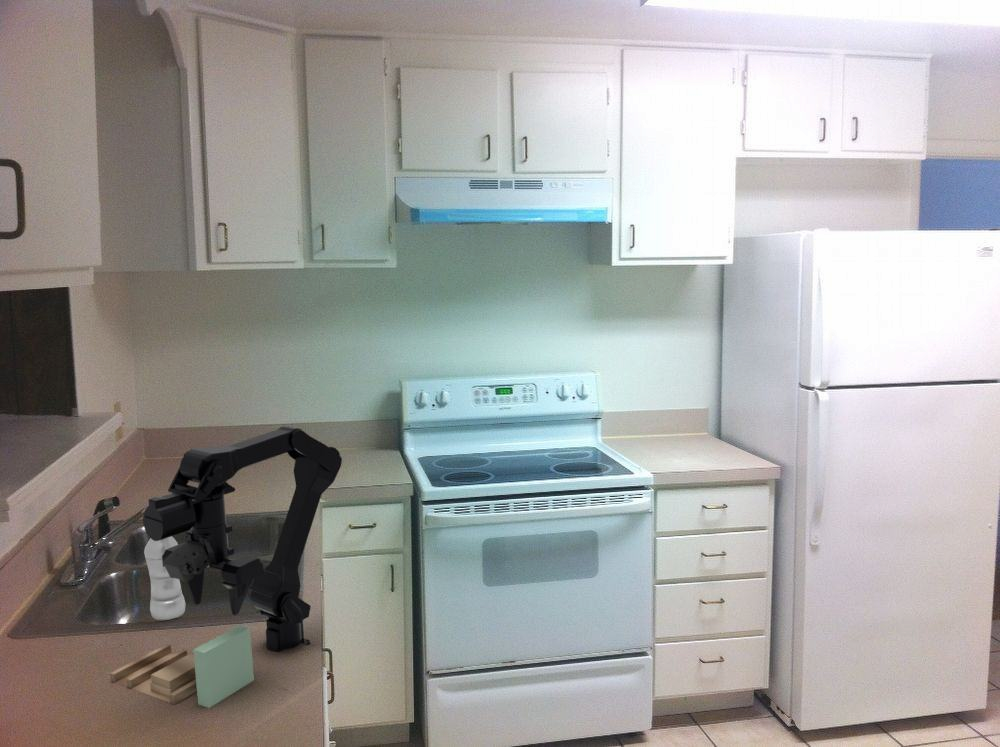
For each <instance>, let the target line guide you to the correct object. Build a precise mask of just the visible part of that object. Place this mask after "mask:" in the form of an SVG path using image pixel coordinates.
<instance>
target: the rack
mask: <svg viewBox="0 0 1000 747" xmlns="http://www.w3.org/2000/svg"><path fill="white" fill-rule="evenodd" d="M187 655H188V650H187V649H185V648H183V649H181V650H179V651H177V652H175V653H173V652H172V645H171V644H168V643H166V644H164V645H162V646H160V647H159V648H156V649H154V650H152V651H150V652H148V653H147V654H144V655H143V656H140V657H139V658H137V659H135V660H133V661H131V662H129V663H126V664H125V665H123V666H121V667H119V668H117V669H115V670H113V671H112V672H110V675H109V676H110V681H111V682H112V683H115V684H118V685H120V686H124V687H126V688H128V689H131V690H133V691H137V692H140V693H142V694H146V695H148V696H150V697H153V698H156V699H158V700H161V701H164V702H167V703H168V704H172V705H177V704H178V703H180V702H182V701H183V700H185V699H186V698H189V697H190V696H191V695H193V694H194V693H197V685H196V679H195V680H194V681H192V682H190V683H188V684H187V685H185V686H183V687H181V688H180V689H178V690H176V691H174V692H173V693H171V694H169V695H170V698H169V697H166V696H163V695H160V694H158V693H155V692H152V691H151V687H150V683H151V682H152V680H151V674H153V673H155V672H157V671H159V670H161V669H163V668H164V667H166V666H168V665H170V664H172V663H174V662H176V661H177V660H179V659H181V658H183V657H185V656H187Z"/></svg>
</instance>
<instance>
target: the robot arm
mask: <svg viewBox="0 0 1000 747" xmlns="http://www.w3.org/2000/svg"><path fill="white" fill-rule="evenodd" d="M283 454H286V456H288V457H289V458H290V459H292V460H294V466H293V476H294V482H295V490H294V492H293V496H292V498H291V501H290V505H289V508H288V510H287V513H286V517H285V520H284V522H283V527H282V528H281V532H280V534H279V535H280V536H279V538H278V541H277V544H276V547H275V551H274V553H273V556H272V560H271V562H270V563H269V564H267V566H266V567H265V568H264V560H262V559H261V558H259V557H255V556H251V555H247V554H242V555H241V556H238V557H236V558H234V559H229V557H230V556H232V555H234V554H235V548H234V547H232V546H231V547H230V546H229V539H228V537H229V536H228V534H229V533H231V532H233V525H232V524H227V516H226V514H227V512H226V503H225V502H226V501H225V495H228V494H232V493H234V492H235V491H236V487H235V486H232V485H231V484H229V483H228V481H230V480H231V479H233V477H234V476H235V475H236V474H237V473H238V472H239V471H241V470H243V469H244V468H247V467H250V466H252V465H256V464H259V463H261V462H263V461H267V460H269V459H272V458H275V457H278V456H281V455H283ZM342 462H343V457H342V456H341V454H340V451H339V450H338V449H337V448H336V447H333V446H329V445H326V444H325V443H323V442H321V441H319V440H317V439H316V438H314V437H312V436H311V435H309V434H308V433H306V432H305V430H304V431H303V430H302V429H301V428H298V427H293V426H289V425H288V426H287V425H284V426H280V427H279V428H277V429H275V430H272V431H268V432H265V433H263V434H260V435H258V436H255V437H251V438H248V439H245V440H242V441H239V442H237V443H233V444H230V445H225V446H207V447H206V446H205V447H196V448H191V449H189V450H187V451H186V452H185V453H184V454H183V456H182V459H181V461H180V465H179V467H178V469H177V470H176V473H175V475H174V477H173V479H172V481H171V483H170V485H169V487H168V490H167V491H168V493H169V494H166V495H163V496H155V497H151V498H148V500H147V501H148V506H147V507H146V508H145V510H144V511H143V512H144V513H143V517H142V525H143V528H144V531H145V532H146V534H147V536H148V537H149V538H151V539H152V540H154V541H159V540H162V539H165V538H168V537H171V536H172V537H173V536H177V535H180V534H183V533H186V534H185V535H184V539H185V541H184V542H182V543H179V544H178V545H176V546H174V547H171V548H169V549H166V550H165V552H164V554H163V556H162V562H163V567H165V568H166V570H167V572H168V574H169V576H170V578H176V579H179V580H180V581H182V583H183V584H184V586H185V588H186V590H187V592H188V594H189V597H190V599H191V601H192V603H193V605H195V606H197V605H200V604H201V602H202V596H203V590H204V589H203V587H204V578H205V577H204V576H205V569H206V568H212V569H215V570H220V573H221V578H222V579H223V582H222V581H221V585H222V586H224V587H225V588H226V589H227V590H228V597H229V604H230V610H231V614H232V616H236V615H238V614H239V613H240V610H241V609H242V606H243V604H244V601H245V598H246V596H247V593H248V590H250V596H249V597H250V598H249V599H250V601H251V604H252V606H253V607H254V608H255V609H257V610H258V613H259V614H260V615H262V616H265V617H268V619H266V621H265V622H266V629H265V639H266V650H269V651H271V652H275V653H280V652H282V651H284V650H290V649H293V648H296V647H298V646H299V645H300V644H303V645H305V646H308V645H310V644H311V640H310V639H308V638H305V635H304V634H305V633H304V620H305V619H307V618H309V616H310V613H311V612H310V611H311V605H310V604H309V603H307V602H306V601H304V600H303V599H301V598H299V596H300V592H301V591H300V589H301V581H300V575H299V566H300V562H301V559H302V556H303V554H304V551H305V547H306V545H307V541H308V538H309V535H310V531H311V528H312V527H313V526H312V525H313V522H314V518H315V516H316V513H317V510H318V507H319V503H320V500H321V498H322V495H323V493H325V491H326V490H327V489H328V488H329V487H331V485H333V483H334V482H335V480H336V479H337V476H338V473H339V471H340V470H341V467H342ZM189 483H192V484H196V485H198V486H197V487H196V486H193V485H189Z"/></svg>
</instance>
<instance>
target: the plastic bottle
mask: <svg viewBox="0 0 1000 747" xmlns="http://www.w3.org/2000/svg"><path fill="white" fill-rule="evenodd" d="M149 538H150V537H149ZM176 545H179V544H178V541H176V539H175V537H173V536H171V537H168V538H165V539H162V540H159V541H154V540H152V539H151V538H150V539H149V540H148V541H147V543H146V545H145V547H144V552H143V553H144V557H145V558H144V559H145V561H146V562H145V563H146V566H147V570H148V575H149V578H150V579H149V580H150V602H149V604H150V605H149V610H150V611H149V612H150V614H151V617H152V619H154V620H156V621H171V620H174V619H177V618H180V617H181V616H183V615H184V613H185V612H186V601H185V596H184V595H183V592H182V586H181V585H182V584H181V580H180V579H176V578H170V576H169V574H168V572H167V570H166V568H165V567H163V562H162V556H163V554H164V552H165V550H166V549H169V548H171V547H174V546H176Z"/></svg>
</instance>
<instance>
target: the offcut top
mask: <svg viewBox="0 0 1000 747" xmlns="http://www.w3.org/2000/svg"><path fill="white" fill-rule="evenodd" d="M195 675H196V674H195V663H194V652H193V651H192V652H191V653H188V654H187V656H185V657H183V658H181V659H179V660H177V661H176V662H174V663H172V664H170V665H168V666H166V667H164V668H163V669H161V670H159V671H157V672H155V673H153V674H151V680H152V683H153V684H156V685H159V686H162V687H164V688H167V689H170V690H171V689H172V688H174V687H176V686H178V685H179V684H181V683H183V682H185V681H186V680H188V679H190V678H192V677H193V676H195Z"/></svg>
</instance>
